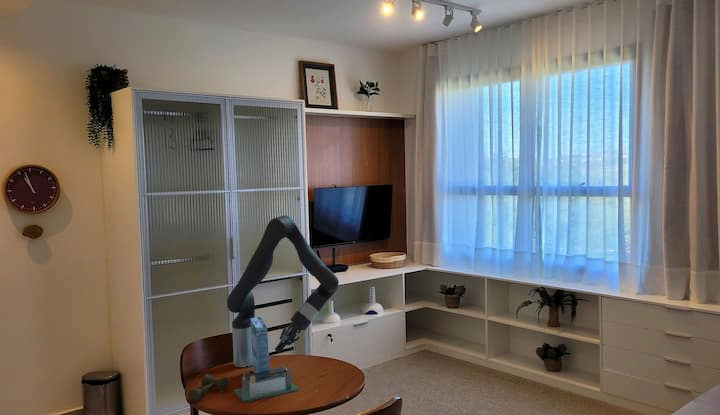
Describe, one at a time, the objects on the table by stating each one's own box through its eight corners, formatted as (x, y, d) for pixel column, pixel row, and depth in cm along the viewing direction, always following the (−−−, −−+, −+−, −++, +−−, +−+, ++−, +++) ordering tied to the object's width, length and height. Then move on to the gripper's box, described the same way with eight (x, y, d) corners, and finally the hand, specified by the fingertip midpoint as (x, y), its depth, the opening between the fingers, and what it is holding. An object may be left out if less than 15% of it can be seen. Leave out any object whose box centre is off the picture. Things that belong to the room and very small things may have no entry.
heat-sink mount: (233, 392, 219) (232, 371, 219) (286, 380, 230) (285, 360, 230) (243, 402, 208) (242, 380, 208) (299, 390, 218) (298, 369, 218)
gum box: (270, 383, 228) (267, 326, 227) (257, 384, 227) (255, 328, 226) (264, 368, 247) (261, 316, 246) (252, 370, 245) (249, 318, 244)
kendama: (182, 402, 212) (215, 383, 230) (203, 406, 208) (234, 386, 227) (181, 387, 212) (214, 368, 230) (202, 390, 208) (234, 371, 226)
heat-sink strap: (246, 377, 217) (246, 374, 217) (284, 368, 225) (284, 366, 225) (249, 380, 213) (249, 377, 213) (288, 371, 221) (288, 369, 221)
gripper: (292, 307, 230) (264, 342, 225) (304, 313, 219) (275, 350, 214) (304, 318, 233) (277, 352, 228) (317, 324, 222) (289, 361, 216)
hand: (277, 351), depth 221 cm, fingers closed
